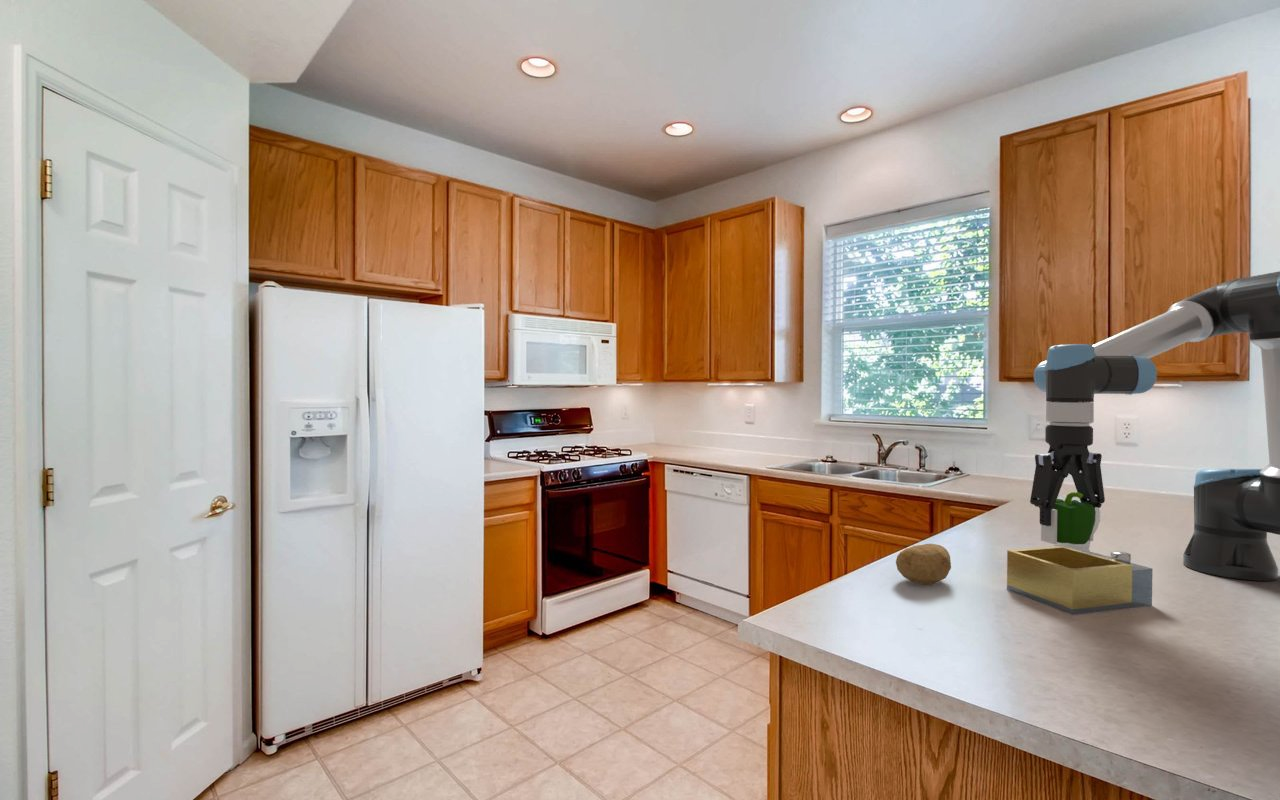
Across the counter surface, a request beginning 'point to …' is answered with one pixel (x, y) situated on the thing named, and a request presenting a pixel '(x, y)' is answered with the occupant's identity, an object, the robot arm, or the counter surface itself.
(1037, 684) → the counter surface
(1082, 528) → the bell pepper
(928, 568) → the potato
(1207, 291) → the robot arm
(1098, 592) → the gold open box
